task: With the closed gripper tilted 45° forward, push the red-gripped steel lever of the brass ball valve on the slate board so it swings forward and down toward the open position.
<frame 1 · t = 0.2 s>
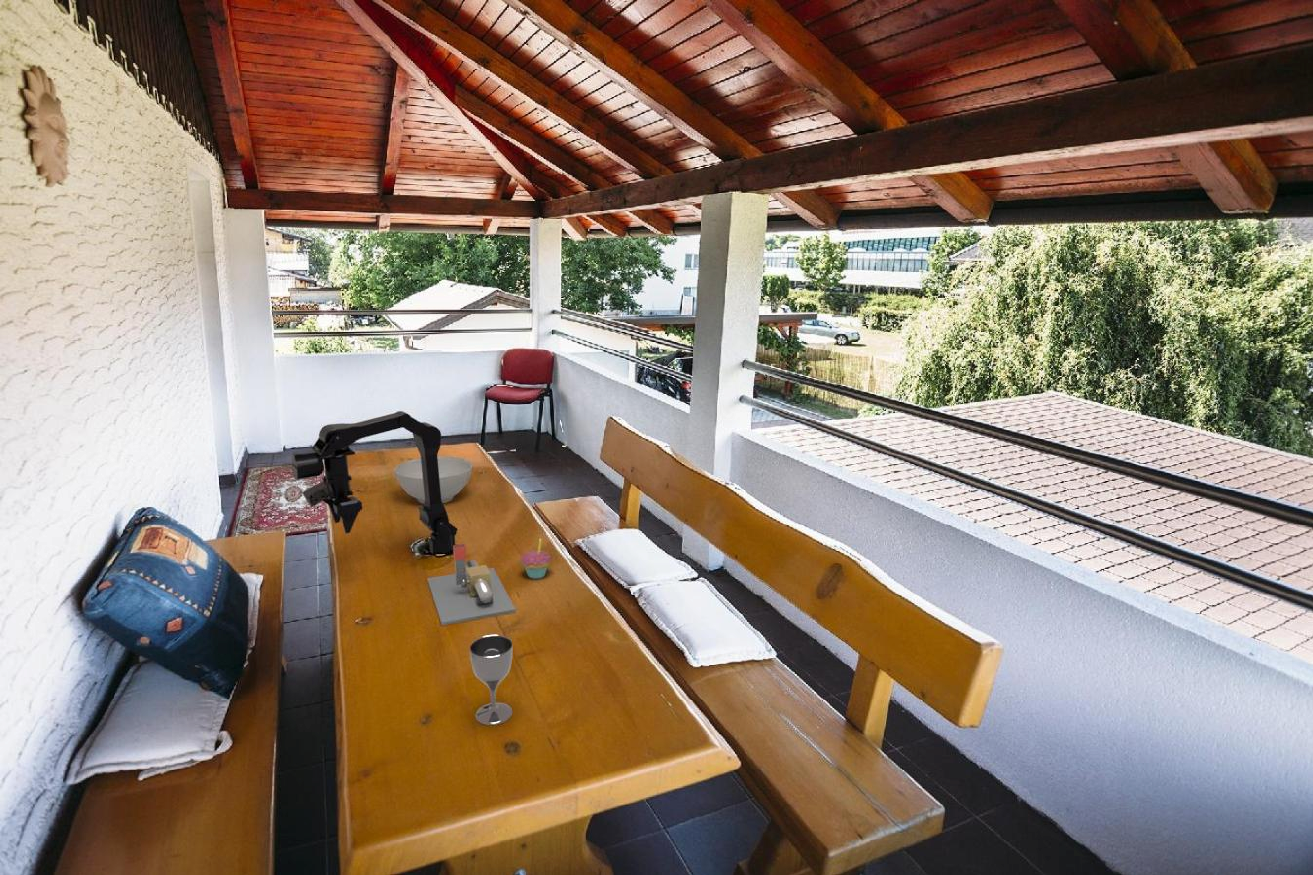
hand: (342, 527, 195), 15 cm above the table, tool pointing down, fingers open, 9 cm apart
ball valve: (478, 581, 189), on the mounting board, point 4 cm above the table
decorative bowl: (435, 499, 261), on the table
valve lever: (460, 566, 186), point 9 cm above the table, hinge at 0.0°
cupcake: (535, 575, 202), on the table
mounting board: (479, 594, 190), on the table
wine glass: (493, 714, 142), on the table
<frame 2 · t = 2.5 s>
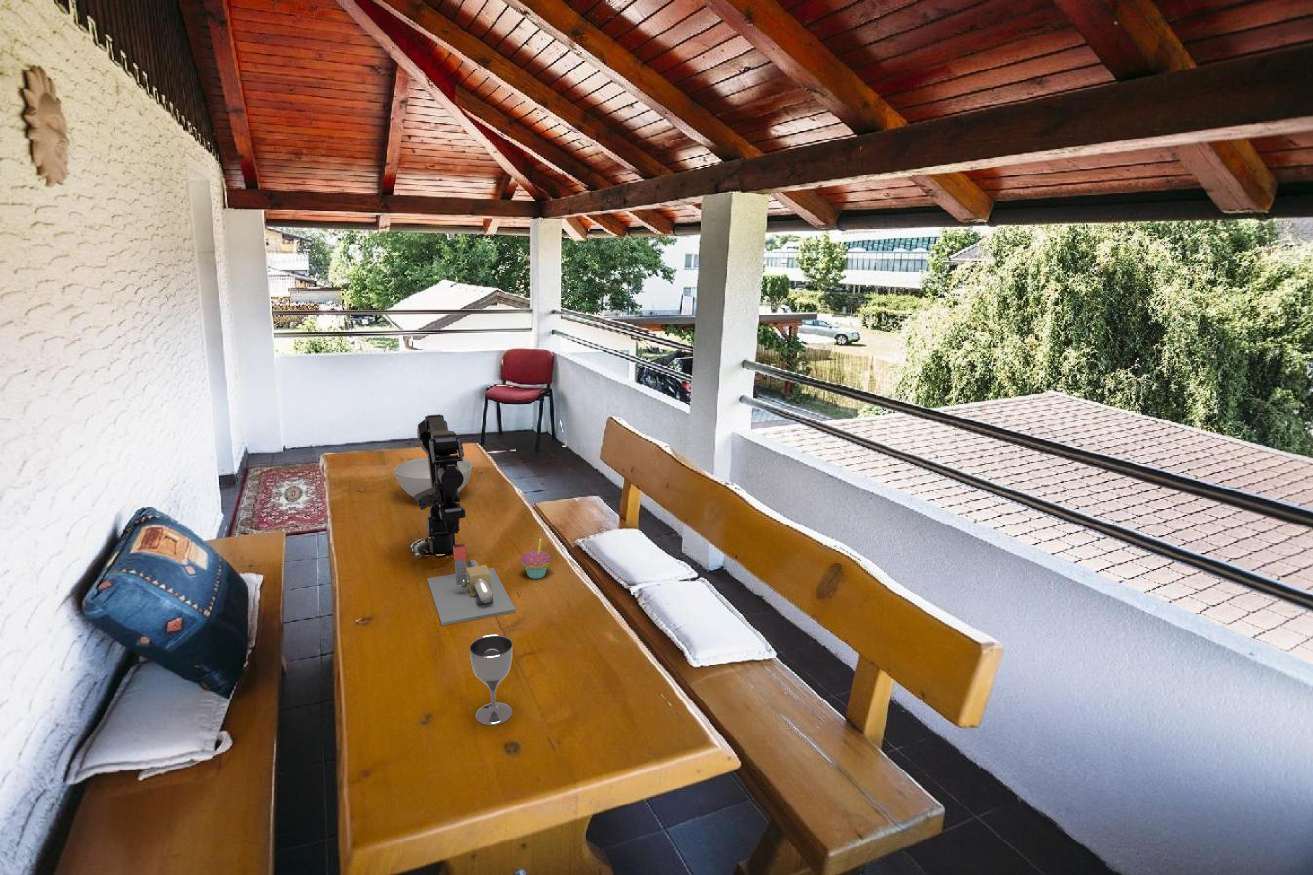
hand: (449, 532, 200), 12 cm above the table, tool pointing down, fingers closed
nothing on the table moved.
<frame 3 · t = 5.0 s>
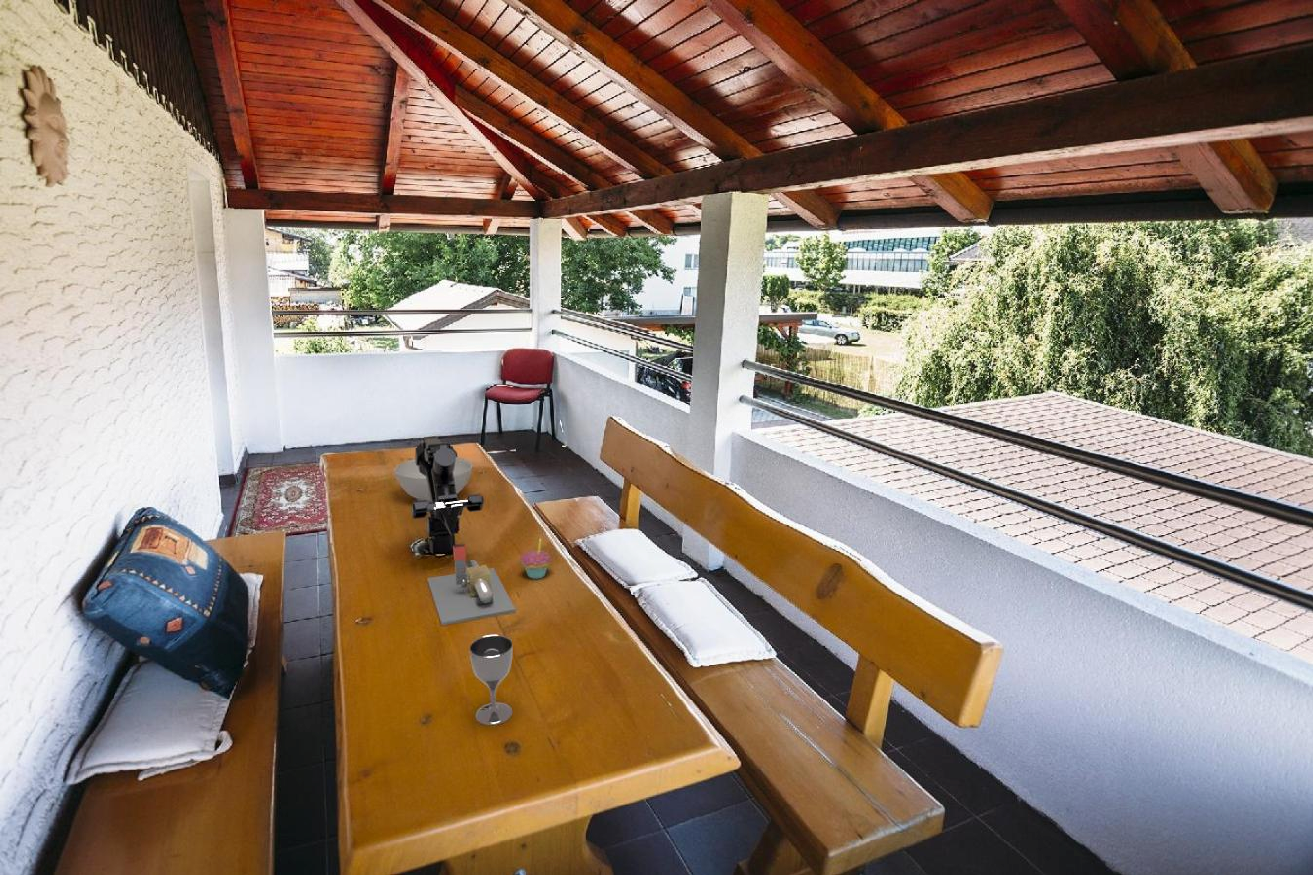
hand: (452, 534, 194), 14 cm above the table, tool tilted 45°, fingers closed
nothing on the table moved.
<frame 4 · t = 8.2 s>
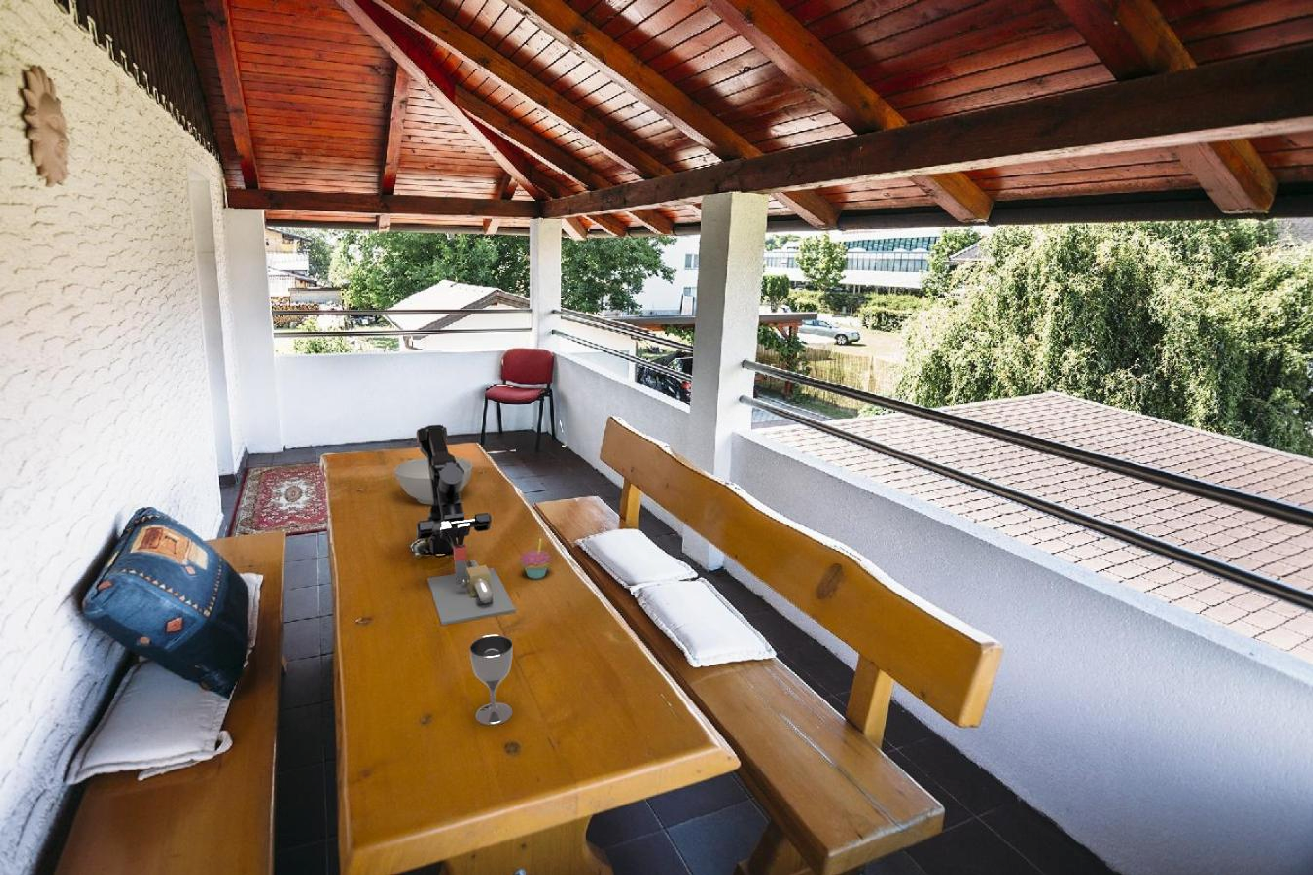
hand: (459, 555, 186), 11 cm above the table, tool tilted 45°, fingers closed, pressing on valve lever
valve lever: (460, 567, 186), point 9 cm above the table, hinge at 3.3°, touching gripper
everything else where it was.
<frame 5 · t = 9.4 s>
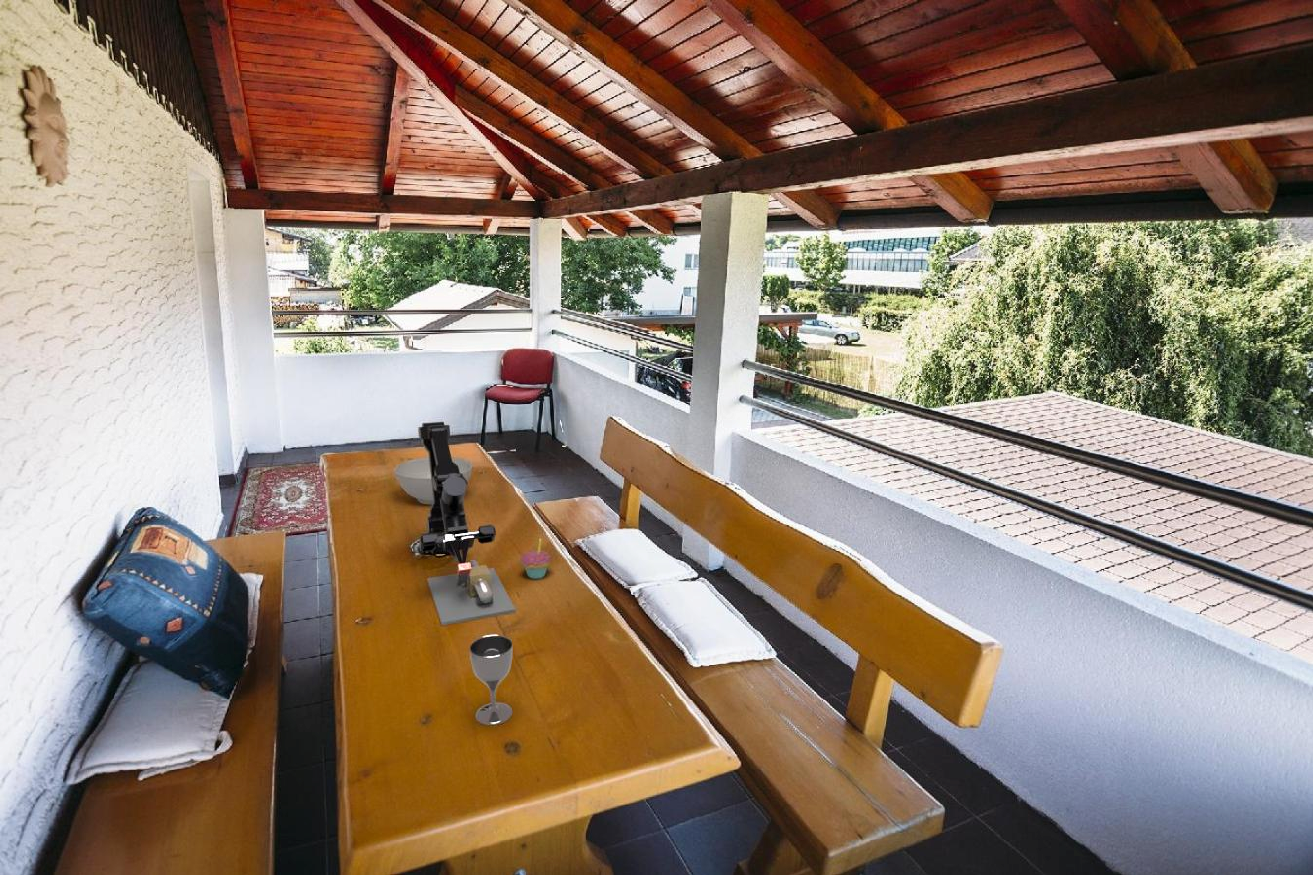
hand: (463, 568, 182), 10 cm above the table, tool tilted 45°, fingers closed, pressing on valve lever
valve lever: (462, 575, 184), point 7 cm above the table, hinge at 42.1°, touching gripper
everything else where it was.
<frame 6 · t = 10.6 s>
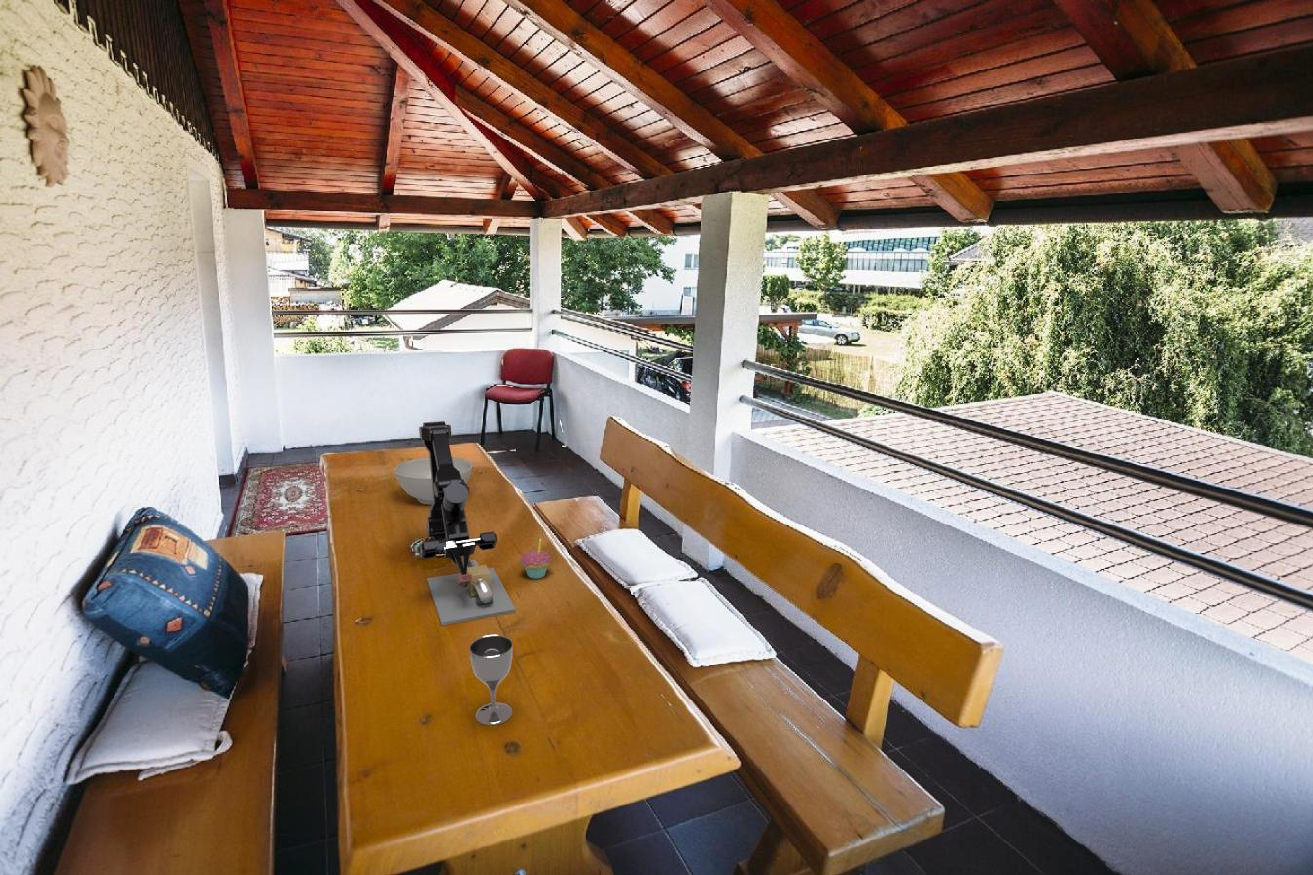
hand: (464, 576, 181), 9 cm above the table, tool tilted 45°, fingers closed, pressing on valve lever
valve lever: (463, 580, 183), point 6 cm above the table, hinge at 57.9°, touching gripper
everything else where it was.
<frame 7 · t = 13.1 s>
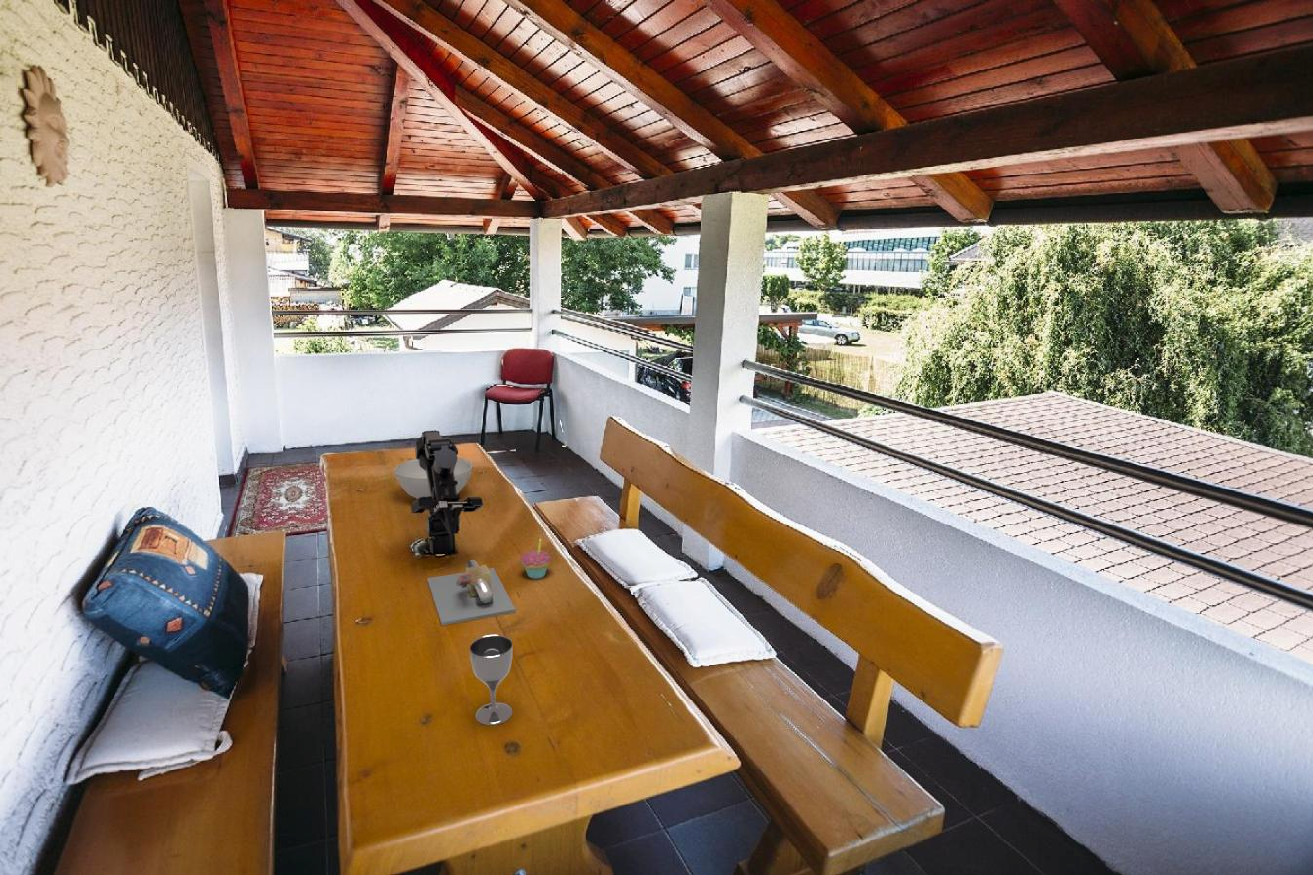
hand: (452, 534, 195), 13 cm above the table, tool tilted 35°, fingers closed
valve lever: (463, 580, 183), point 6 cm above the table, hinge at 57.9°
everything else where it was.
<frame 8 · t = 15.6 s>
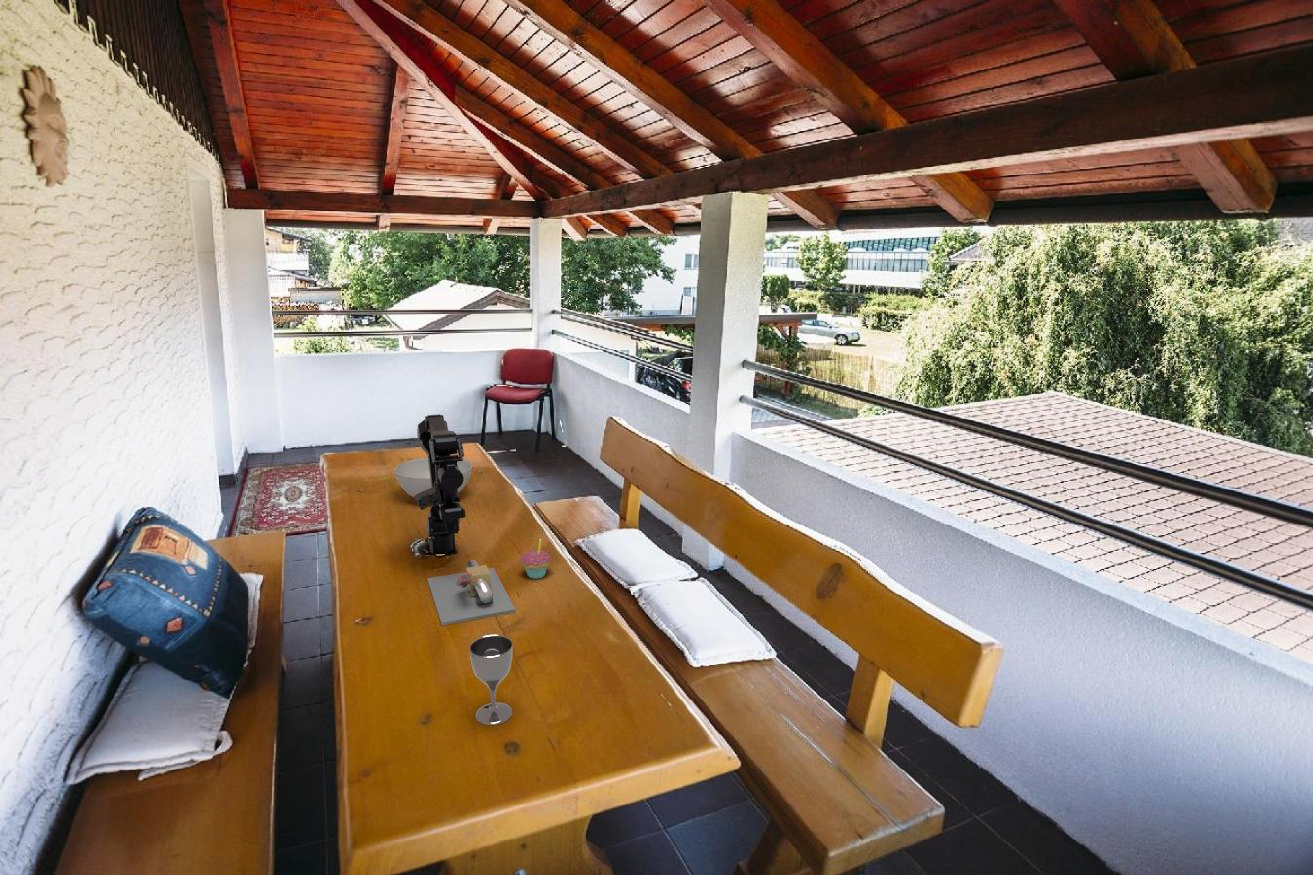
hand: (449, 532, 200), 12 cm above the table, tool pointing down, fingers closed
nothing on the table moved.
at the end: valve lever at +58° (first picture: +0°); the gripper is holding nothing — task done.
